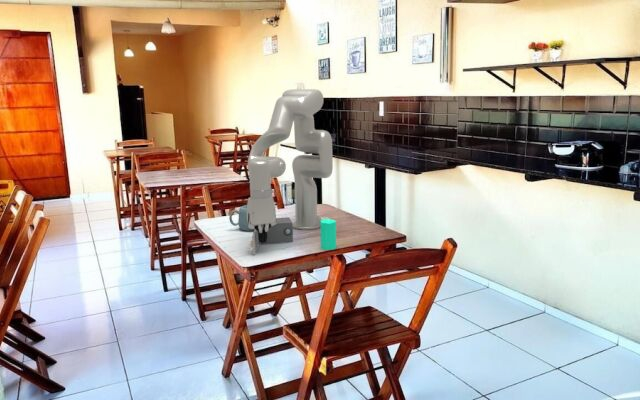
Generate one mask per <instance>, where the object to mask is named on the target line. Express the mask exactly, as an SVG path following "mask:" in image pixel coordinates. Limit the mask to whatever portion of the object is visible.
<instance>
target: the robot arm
mask: <svg viewBox="0 0 640 400" xmlns="http://www.w3.org/2000/svg"><path fill="white" fill-rule="evenodd" d="M323 105H324V95H323V93H322V92H321V91H320V90H318V89H316V88H314V89H312V88H311V89H305V88H304V89H302V88H299V89H297V88H295V89H288V90H287V89H286V90H284V91H283V93H282V96H280V97H279V98H278V99H276V102H275V104H274V108H273V111H272V115H271V118H270V122H269V126H268V129H267V130H266V131H265V132H264V133H262V135H260V137H259V138H258V139H257V140H256V141H255V142H254V143H253V144H252V147H251V149H250V152H249V155H248V159H247V171H248V172H249V174H248V176H249V191H250V193H249V194H250V197H248V199H247V204H246V205H247V222H248V223H249V224H248V228H250V229H256V230H257V231H258V240H259V241H260V242H261V243H264V242H266V239H267V232H268V229H269V228H270V227H271V226H273V225H275V224H276V218H277V213H276V206H275V200H274V197H273V196H272V195H273V194H274V193H275V189H274V188H273V189H272V186H271V184H272V183H271V182H272V181H271V178H278V177H281V176H282V175H284V173H285V171H286V168H287V166H286V165H287V164H286V162H285V160H284V159H283V158H281V157H279V156H265V155H263V154H264V153H265V152H266V151H267V150H268V149H269V148H271V147H272V146H274V145H275V146H276V145H277V144H280V143H281V142H283V141H286V140H287V139H289V137H290V135H291V132H292V129H294V145H295V148H296V150H297V151H298V152H302V153H318V155H313V154H301V155H297V156H295V157H294V158H293V160H292V165H291V168H292V173H293V178H294V200H295V201H294V204H295V207H294V208H295V209H294V210H295V221H294V222H292V223H293V229H297V230H303V231H304V230H305V231H306V230H307V231H308V230H317V229H319V228H321V220H324V219H328V217H327V216H325V217H324V216H318V189H317V185H316V181H315V180H314V179H313V178H316V179H327V178H329V177H331V175H332V173H333V166H334V165H333V164H334V163H333V140H332V139H333V138H332V135H331V134H330V132H329V131H327V130H324V129H316V128H315V120H314V119H315V117H314V115H315V114H317V112H319V111H320V110H321V109H322V107H323ZM293 127H294V128H293ZM261 225H263V228H262V227H261Z"/></svg>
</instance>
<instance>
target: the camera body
mask: <svg viewBox="0 0 640 400" xmlns="http://www.w3.org/2000/svg"><path fill="white" fill-rule="evenodd" d="M293 223H294V222H293V221H292V220H291V218H290V217H276V224H275V225H273V226H271V227H270V228H269V229H268V232H267V239H266V242H264V243H261V242H260V241H259V245H258V246H260V245H273V244H284V243H285V244H286V243H287V244H288V243H294V232H293V231H294V228H293ZM261 227H262V228H263V225H261Z"/></svg>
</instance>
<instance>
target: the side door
mask: <svg viewBox="0 0 640 400" xmlns="http://www.w3.org/2000/svg"><path fill="white" fill-rule="evenodd" d="M259 246H260V245H259V240H258V231H257V230H256V229H255V230H254V231H253V233H252V235H251V240H250V248H252V255H254V256H255V255H256V253H257V250H258V247H259Z"/></svg>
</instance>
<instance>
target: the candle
mask: <svg viewBox="0 0 640 400" xmlns="http://www.w3.org/2000/svg"><path fill="white" fill-rule="evenodd" d="M327 218H328V219H324V220H321V226H320V249H322V250H324V251H325V250H326V251H329V250H335V249H337V220H334V219H331V218H329V217H327Z"/></svg>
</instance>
